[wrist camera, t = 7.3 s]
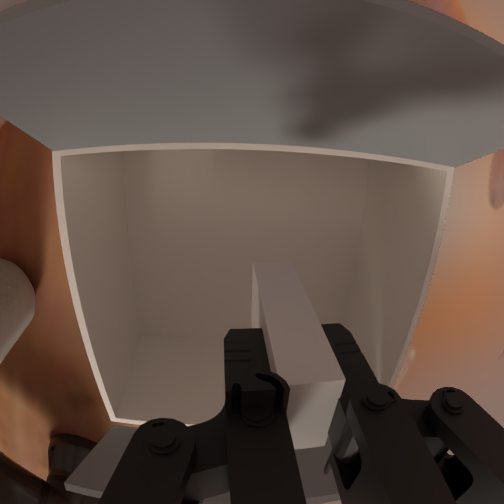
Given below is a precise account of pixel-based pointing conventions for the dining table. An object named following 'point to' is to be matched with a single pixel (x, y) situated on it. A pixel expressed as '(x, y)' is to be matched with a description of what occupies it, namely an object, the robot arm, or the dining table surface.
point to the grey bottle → (14, 305)
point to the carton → (236, 257)
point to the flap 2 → (110, 452)
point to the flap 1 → (253, 76)
